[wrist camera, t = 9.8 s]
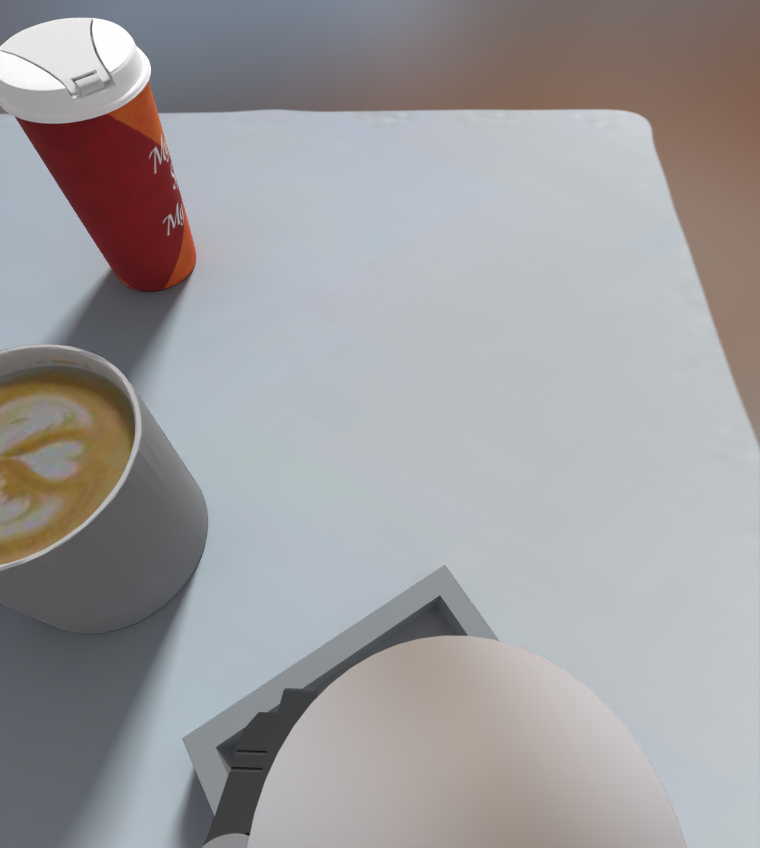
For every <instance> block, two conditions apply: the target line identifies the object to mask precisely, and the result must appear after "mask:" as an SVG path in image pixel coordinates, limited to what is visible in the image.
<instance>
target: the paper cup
mask: <svg viewBox="0 0 760 848" xmlns="http://www.w3.org/2000/svg"><path fill="white" fill-rule="evenodd" d="M150 74H151V67H150V63H149V60H148V59H147V57H146V56H145V55H144V53H143V52H142V51H141V50H140V49H139V48H138V47H136V45H135V43H134V41H133V39H132V37H131V36H130V35H129V34H128V33H127V32H126V31H125V30H124V29H123V28H122V27H120V26H119V25H117V24H114V23H112V22H109V21H106V20H102V19H95V18H67V19H59V20H54V21H49V22H46V23H42V24H39V25H36V26H33V27H30V28H28V29H25V30H23V31H21V32H19V33H17V34H16V35H14V36H12V37H11V38H10V39H8V41H6V42H5V43H4V44H2V45H1V46H0V105H1V107H2V108H3V109H4V110H5V111H7V112H8V113H10V114H11V115H13V116H15V118H16V119H17V121H18V122H19V124H20V125H21V127H22V129H23V130H24V132H25V133H26V135H27V136H28V138H29V140H30V141H31V143H32V144H33V146H34V148H35V149H36V151H37V152H38V154H39V155H40V157H41V159H42V160H43V162H44V163H45V165H46V166H47V168H48V170H49V171H50V173H51V174H52V176H53V177H54V179H55V181H56V182H57V184H58V185H59V187H60V189H61V190H62V192H63V193H64V195H65V196H66V198H67V200H68V201H69V203H70V204H71V206H72V207H73V209H74V211H75V212H76V214H77V215H78V217H79V218H80V220H81V222H82V223H83V225H84V226H85V228H86V229H87V231H88V233H89V234H90V236H91V237H92V239H93V240H94V242H95V243H96V245H97V246H98V248H99V250H100V251H101V253H102V254H103V256H104V257H105V259H106V260H107V262H108V263H109V265H110V266H111V268H112V269H113V271H114V272H115V274H116V275H117V276H118V278H119V279H120V280H121V281H122V282H123V283H124V284H125V285H126V286H128V287H130V288H132V289H134V290H138V291H145V292H153V291H160V290H164V289H168V288H170V287H173V286H175V285H177V284H178V283H180V282H182V281H183V280H184V279H185V278H186V277H188V275H189V274H190V273H191V272H192V270H193V268H194V266H195V263H196V252H195V247H194V243H193V239H192V235H191V231H190V227H189V223H188V220H187V216H186V212H185V209H184V205H183V202H182V198H181V194H180V191H179V187H178V184H177V180H176V176H175V173H174V169H173V166H172V162H171V159H170V155H169V152H168V148H167V144H166V141H165V137H164V134H163V130H162V127H161V123H160V120H159V116H158V113H157V109H156V105H155V102H154V98H153V95H152V92H151V88H150V84H149V78H150Z"/></svg>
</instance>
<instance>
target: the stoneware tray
mask: <svg viewBox="0 0 760 848" xmlns="http://www.w3.org/2000/svg"><path fill="white" fill-rule="evenodd" d="M437 636H473V637H479V638H486V639H493V640H496V641H499V640H498V638H497V637H496V636H495V634H494V633H493V631H492V630H491V629H490V627H489V626H488V624H487V623H486V622H485V620H484V619H483V617H482V616H481V615H480V613H479V612H478V610H477V609H476V608H475V606H474V605H473V603H472V602H471V601H470V599H469V598H468V596H467V595H466V594H465V592H464V591H463V589H462V588H461V587H460V585H459V584H458V582H457V581H456V580H455V578H454V577H453V575H452V574H451V573H450V571H449V570H448V568H447V567H446V566H445V565H444V566H442V567H441V568H439V569H438V570H436V571H435V572H433V573H432V574H430V575H429V576H427V577H426V578H424V579H423V580H421V581H420V582H418V583H417V584H415V585H414V586H412V587H411V588H409V589H408V590H406V591H405V592H403V593H402V594H400V595H398V596H397V597H395V598H394V599H392V600H391V601H389V602H388V603H386V604H385V605H383V606H382V607H380V608H379V609H377V610H376V611H374V612H373V613H371V614H370V615H368V616H367V617H365V618H364V619H362V620H361V621H359V622H358V623H356V624H355V625H353V626H352V627H350V628H349V629H347V630H346V631H344V632H343V633H341V634H340V635H338V636H337V637H335V638H333V639H332V640H330V641H329V642H327V643H326V644H324V645H323V646H321V647H320V648H318V649H317V650H315V651H314V652H312V653H311V654H309V655H308V656H306V657H305V658H303V659H302V660H300V661H299V662H297V663H296V664H294V665H293V666H291V667H290V668H288V669H287V670H285V671H284V672H282V673H281V674H279V675H278V676H276V677H275V678H273V679H272V680H270V681H269V682H267V683H265V684H264V685H262V686H261V687H259V688H258V689H256V690H255V691H253V692H252V693H250V694H249V695H247V696H246V697H244V698H243V699H241V700H240V701H238V702H237V703H235V704H234V705H232V706H231V707H229V708H228V709H226V710H225V711H223V712H222V713H220V714H219V715H217V716H216V717H214V718H213V719H211V720H210V721H208V722H207V723H205V724H204V725H202V726H200V727H199V728H197V729H196V730H194V731H193V732H191V733H190V734H188V735H187V736H185V737H184V738H182V740H183V742H184V744H185V747H186V749H187V752H188V754H189V756H190V759H191V761H192V764H193V766H194V768H195V771H196V773H197V776H198V778H199V780H200V783H201V785H202V787H203V790H204V792H205V795H206V797H207V799H208V802H209V804H210V807H211V809H212V811H213V814H214V816H215V814H216V811H217V808H218V805H219V802H220V799H221V796H222V793H223V790H224V787H225V784H226V781H227V778H228V775H229V772H230V771H231V765H232V762H233V759H234V756H235V754H236V752H237V747H238V744H239V741H240V738H241V735H242V732H243V729H244V728H245V727H246V726H247V725H248V724H249V722H250V721H251V720H252V719H253V718H254V717H255V716H256V714H257V713H258V712H273V713H278V709H279V705H280V701H281V698H282V694H283V691H284V689H285V688H300V689H317V697H318V696H319V695H320V694H321V693H322V692H323V691H324V690H325V689H326V688H327V687H328V686H329V685H330V684H331V683H332V682H334V681H335V680H336V679H338V678H339V677H340V676H341V675H343V674H344V673H345V672H346V671H348V670H349V669H350V668H352V667H353V666H355V665H357V664H358V663H360V662H362V661H363V660H365V659H367V658H368V657H370V656H372V655H374V654H376V653H378V652H381V651H383V650H385V649H388V648H390V647H393V646H395V645H398V644H402V643H405V642H409V641H413V640H416V639H421V638H429V637H437Z"/></svg>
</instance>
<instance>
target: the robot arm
mask: <svg viewBox="0 0 760 848" xmlns="http://www.w3.org/2000/svg"><path fill="white" fill-rule="evenodd" d="M316 698H317V689H300V688H285V689H284V691H283V694H282V698H281V701H280V705H279V709H278V713H273V712H258V713H257V714H256V716H255V717H254V718H253V719H252V720H251V721H250V722H249V724H248V725H247V726H246V727H245V728H244V729H243V732H242V735H241V738H240V741H239V744H238V747H237V752H236V754H235V756H234V759H233V762H232V765H231V771H230V772H229V775H228V778H227V781H226V784H225V787H224V790H223V793H222V796H221V799H220V802H219V805H218V808H217V811H216V814H215V817H214V820H213V823H212V826H211V829H210V832H209V835H208V837H207V839H206V842H205V843H204V845H203V846H202V847H201V848H247V846H248V841H249V837H250V832H251V827H252V822H253V818H254V813H255V810H256V807H257V804H258V801H259V798H260V795H261V792H262V789H263V786H264V783H265V780H266V778H267V776H268V774H269V771H270V769H271V767H272V765H273V762H274V760H275V758H276V756H277V754H278V752H279V750H280V748H281V747H282V745H283V743H284V742H285V740H286V738H287V737H288V735H289V733H290V732H291V730H292V728H293V727H294V725H295V724H296V723H297V721H298V720H299V719H300V718H301V716H302V715H303V714H304V712H305V711H306V710H307V708H308V707H309V706H310V704H311V703H312V702H313V701H314V700H315V699H316Z"/></svg>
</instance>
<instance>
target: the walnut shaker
mask: <svg viewBox="0 0 760 848" xmlns="http://www.w3.org/2000/svg"><path fill="white" fill-rule="evenodd" d="M247 848H687V847H686V844H685V841H684V838H683V834H682V831H681V828H680V825H679V822H678V819H677V817H676V814H675V812H674V810H673V807H672V805H671V803H670V800H669V798H668V796H667V793H666V791H665V789H664V786H663V785H662V783H661V781H660V779H659V777H658V776H657V774H656V772H655V770H654V768H653V767H652V765H651V763H650V761H649V759H648V758H647V756H646V755H645V753H644V752H643V750H642V749H641V747H640V746H639V745H638V743H637V742H636V740H635V739H634V737H633V736H632V734H631V733H630V731H629V730H628V729H627V728H626V727H625V726H624V724H623V723H622V722H621V721H620V720H619V719H618V717H617V716H616V715H615V714H614V713H613V712H612V710H611V709H610V708H609V707H608V706H607V705H606V704H605V703H604V702H603V701H601V700H600V699H599V698H598V697H597V696H596V695H595V694H594V693H593V692H592V691H591V690H590V689H589V688H588V687H586V686H585V685H584V684H582V683H581V682H580V681H578V680H577V679H576V678H574V677H573V676H572V675H570V674H569V673H568V672H566V671H565V670H563V669H562V668H560V667H558V666H556V665H555V664H553V663H551V662H549V661H548V660H546V659H544V658H543V657H541V656H538V655H536V654H534V653H531V652H529V651H527V650H524V649H522V648H520V647H517V646H514V645H510V644H507V643H503V642H500V641H496V640H493V639H486V638H479V637H473V636H437V637H429V638H421V639H416V640H413V641H409V642H405V643H402V644H398V645H395V646H393V647H390V648H388V649H385V650H383V651H381V652H378V653H376V654H374V655H372V656H370V657H368V658H367V659H365V660H363V661H362V662H360V663H358V664H357V665H355V666H353V667H352V668H350V669H349V670H348V671H346V672H345V673H344V674H343V675H341V676H340V677H339V678H338V679H336V680H335V681H334V682H332V683H331V684H330V685H329V686H328V687H327V688H326V689H325V690H324V691H323V692H322V693H321V694H320V695H319V696H318V697H317V698H316V699H315V700H314V701H313V702H312V703H311V704H310V706H309V707H308V708H307V710H306V711H305V712H304V714H303V715H302V716H301V718H300V719H299V720H298V721H297V723H296V724H295V725H294V727H293V728H292V730H291V732H290V733H289V735H288V737H287V738H286V740H285V742H284V743H283V745H282V747H281V748H280V750H279V752H278V754H277V756H276V758H275V760H274V762H273V765H272V767H271V769H270V771H269V774H268V776H267V778H266V780H265V783H264V786H263V789H262V792H261V795H260V798H259V801H258V804H257V807H256V810H255V813H254V818H253V822H252V827H251V832H250V837H249V841H248V846H247Z"/></svg>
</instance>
